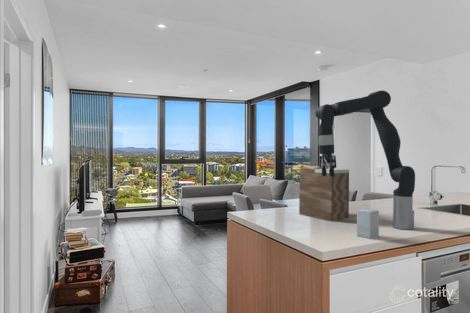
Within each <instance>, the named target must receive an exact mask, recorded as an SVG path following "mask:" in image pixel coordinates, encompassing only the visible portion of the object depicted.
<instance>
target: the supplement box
mask: <svg viewBox="0 0 470 313" xmlns="http://www.w3.org/2000/svg"><path fill="white" fill-rule="evenodd" d="M379 213H380V212H379V210H378V209H370V208H362V209H361V208H360V209H357V210H356V237H362V238H365V239H369V240H370V239H375V238H379V236H380V235H379V234H380V233H379V232H380V229H379V228H380V226H379V225H380V224H379V223H380V222H379V221H380V220H379V219H380V218H379V217H380V216H379V215H380V214H379Z"/></svg>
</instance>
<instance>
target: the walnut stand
mask: <svg viewBox="0 0 470 313" xmlns="http://www.w3.org/2000/svg"><path fill="white" fill-rule="evenodd" d="M326 174H327V175H326V176H322V169H305V168H302V167H300V168H299V189H298V190H299V198H298V200H299V201H298V202H299V203H298V206H299V209H298V210H299V212H298V213H299V214H298V215H302V216H306V217H309V218H313V219H320V220H324V221H327V222H336V221H342V220H348V219H349V214H350V213H349V212H350V209H349V208H350V206H349V205H350V200H349V199H350V169H347V168H346V169H345V168H335V169H334V177H330V175H329V168H328V169H326Z"/></svg>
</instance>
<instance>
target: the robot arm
mask: <svg viewBox="0 0 470 313" xmlns="http://www.w3.org/2000/svg"><path fill="white" fill-rule="evenodd" d="M391 100H392V97H391V94H390V93H389V92H388V91H386V90H382V89H381V90H377V91H374V92H371V93H369V94H368V95H366V96H362V97H357V98H352V99H347V100H346V99H345V100H342V101H337V102H335V103H332V104H329V103H328V104H323V105H321V106H318V107H317V108H316V110H315V112H314V113H315V114H314V115H315V117H316V118H317V119H318V120H320V124H318V131H317V132H318V154H319V156H318V166H319V167H321V169H322V176H326V175H327V174H326V169H325V168H326V166H328V167H329V168H328V169H329V175H330V177H334V169H337V159H336V158H337V156H336V155H333V154H335V140H334V139H335V138H334V132H333V130H334V129H333V127H334V121H335V117H339V116H344V115H349V114H353V113H356V112H360V111H363V110H366V109H368V110H369V114H370V115H371V117H372V120H373V123H374V124H375V127H376V128H375V129H376V131H377V134H378V137H379V140H380V143H381V146H382V148H383V151H384V156H385V159H386V162H387V166H388V171H389V175H390V178H391V179H392V181H393V182H396V183H398V187H397V188H395V189H394V190H393V191H392V193H393V194H392V206H393V207H392V227H393V228H394V229H398V230H412V229H414V228H415V210H413V194H414V192H415V187H416V172H415V170H414V168H413V167H411V166H409V165H403V163H402V162H401V158H400V150H401V144H402V143H401V138H400V135H399V132H398V129H397V128H396V126H395V125H394V123H392V122H391V120H390V119H389V118H388V116H387V115H386V113H385V110H384V108H386V107H388V106H389V105H390V103H391ZM324 165H325V166H324Z"/></svg>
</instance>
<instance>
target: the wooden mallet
mask: <svg viewBox="0 0 470 313" xmlns="http://www.w3.org/2000/svg"><path fill="white" fill-rule="evenodd" d="M324 166H325V165H324ZM301 168H305V169H321V167H319V165H315V166H314V165H313V166H312V165H309V166H308V165H307V166H301ZM325 169H329V167H328V166H326V168H325Z"/></svg>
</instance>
